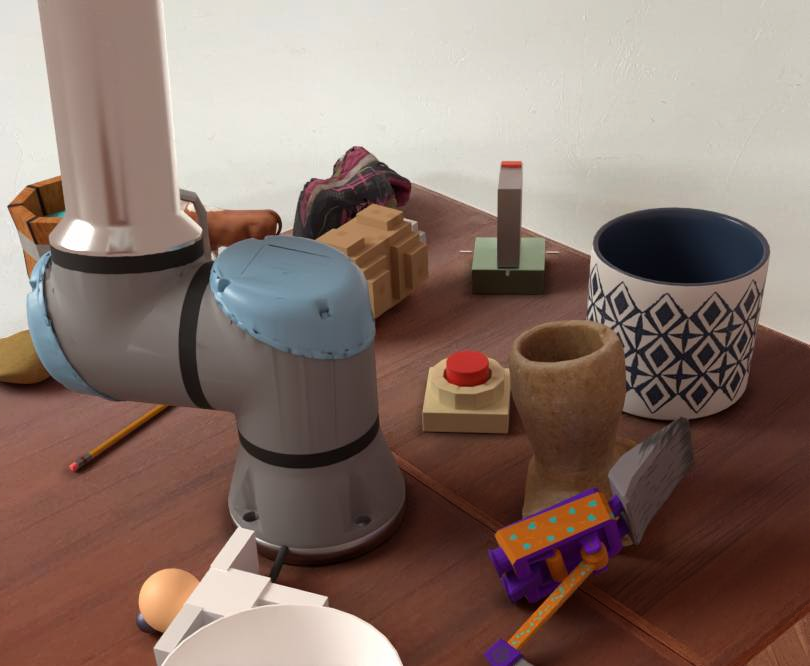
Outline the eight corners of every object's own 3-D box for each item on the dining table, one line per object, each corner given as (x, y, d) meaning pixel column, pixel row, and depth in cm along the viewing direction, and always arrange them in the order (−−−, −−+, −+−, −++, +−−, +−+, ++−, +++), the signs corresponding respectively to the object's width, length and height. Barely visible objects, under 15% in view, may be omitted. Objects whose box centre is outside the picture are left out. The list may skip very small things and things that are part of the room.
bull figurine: (176, 260, 135) (169, 192, 131) (286, 265, 134) (283, 196, 130) (166, 273, 131) (158, 203, 127) (279, 278, 130) (276, 208, 126)
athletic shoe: (261, 219, 127) (357, 228, 123) (329, 102, 138) (420, 107, 134) (287, 294, 136) (378, 304, 132) (350, 179, 147) (435, 185, 143)
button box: (507, 433, 105) (508, 397, 103) (422, 431, 106) (421, 395, 104) (510, 387, 111) (511, 352, 109) (430, 385, 112) (429, 350, 110)
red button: (487, 389, 105) (487, 373, 104) (444, 388, 105) (444, 372, 104) (489, 366, 108) (489, 350, 107) (448, 365, 108) (447, 349, 107)
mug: (46, 368, 118) (5, 234, 108) (44, 308, 128) (7, 181, 118) (231, 335, 121) (208, 202, 111) (216, 280, 131) (193, 153, 121)
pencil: (75, 473, 103) (72, 465, 103) (70, 471, 104) (67, 464, 103) (213, 377, 115) (211, 370, 115) (208, 376, 116) (206, 369, 115)
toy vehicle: (695, 471, 90) (787, 622, 82) (455, 578, 92) (522, 737, 83) (686, 407, 83) (787, 565, 74) (427, 524, 84) (496, 692, 76)
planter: (571, 342, 117) (579, 211, 108) (723, 333, 117) (744, 202, 108) (596, 429, 105) (607, 290, 96) (766, 420, 105) (793, 280, 96)
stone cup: (516, 440, 104) (520, 294, 94) (647, 452, 102) (665, 304, 92) (489, 545, 93) (490, 392, 83) (634, 562, 91) (653, 406, 81)
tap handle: (519, 267, 124) (521, 186, 118) (496, 266, 124) (497, 186, 118) (521, 238, 129) (523, 160, 123) (499, 238, 130) (500, 160, 124)
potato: (84, 339, 117) (41, 377, 111) (55, 381, 122) (12, 419, 116) (29, 292, 115) (-17, 329, 109) (2, 337, 120) (-43, 374, 114)
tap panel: (557, 301, 124) (559, 275, 122) (456, 300, 125) (456, 274, 123) (558, 255, 132) (559, 230, 130) (463, 254, 134) (462, 229, 132)
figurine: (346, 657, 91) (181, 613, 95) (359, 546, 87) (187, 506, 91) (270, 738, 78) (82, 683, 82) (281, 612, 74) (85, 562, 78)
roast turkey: (449, 287, 127) (447, 203, 121) (353, 360, 116) (346, 271, 110) (377, 267, 132) (372, 184, 125) (279, 334, 121) (268, 248, 114)
